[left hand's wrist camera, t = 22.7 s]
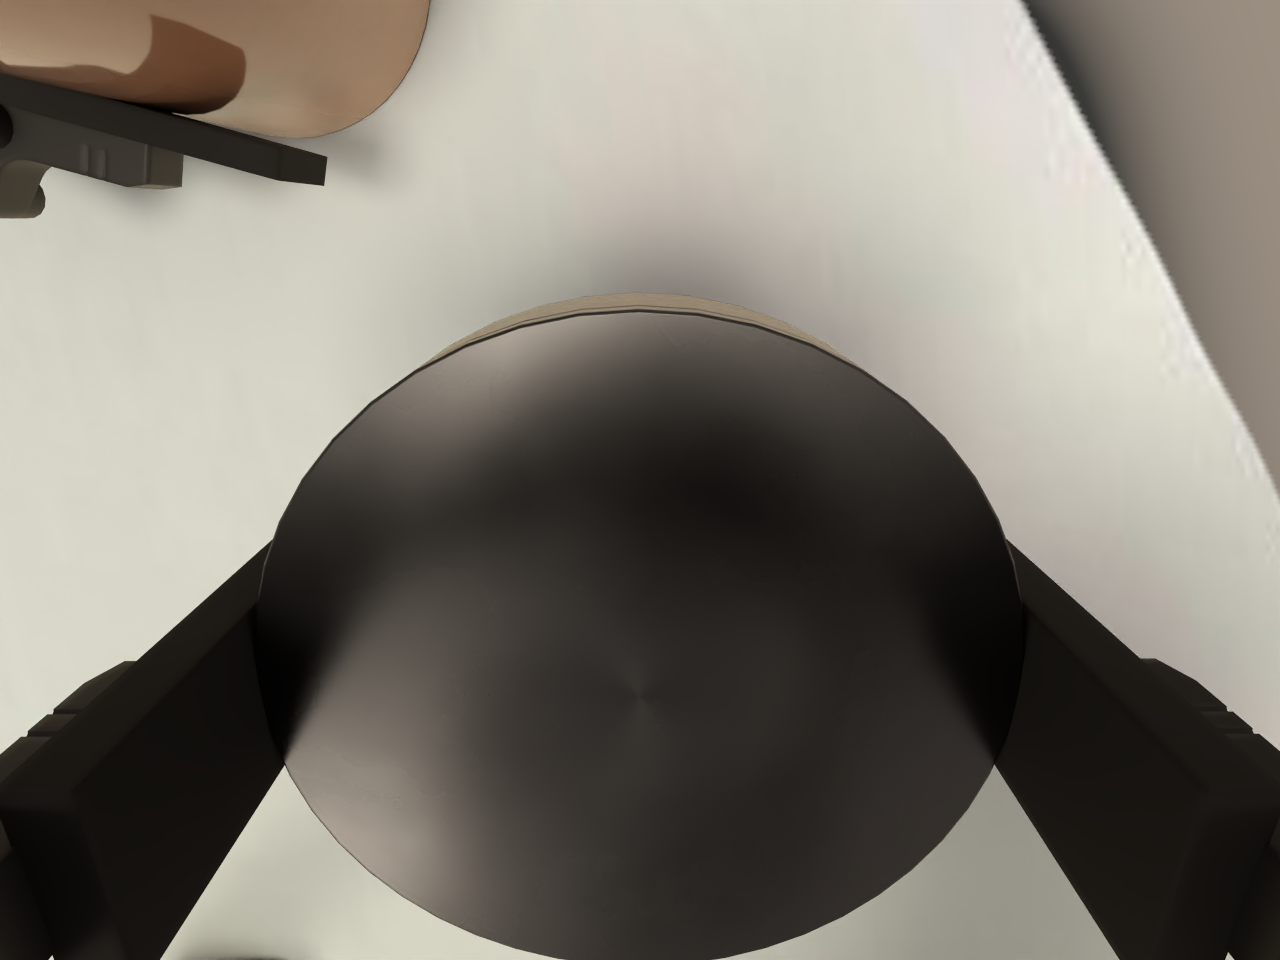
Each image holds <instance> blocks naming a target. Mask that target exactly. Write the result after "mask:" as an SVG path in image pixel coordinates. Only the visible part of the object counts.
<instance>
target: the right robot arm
mask: <svg viewBox="0 0 1280 960" xmlns="http://www.w3.org/2000/svg"><path fill="white" fill-rule="evenodd" d="M183 155H188V156H191V157H195V158H198V159H202V160H206V161H209V162H213V163H217V164H220V165H224V166H227V167H231V168H235V169H238V170H242V171H245V172H249V173H253V174H256V175H260V176H264V177H267V178H271V179H274V180H278V181H287V182H295V183H304V184H313V185H322V186H324V182H325V173H326V165H327V157H326V156H322V155H319V154H315V153H312V152H308V151H305V150H301V149H297V148H294V147H290V146H287V145H283V144H280V143H276V142H273V141H269V140H265V139H262V138H258V137H255V136H251V135H248V134H244V133H240V132H237V131H233V130H230V129H226V128H223V127H219V126H216V125H212V124H208V123H205V122H201V121H198V120H194V119H191V118H187V117H184V116H180V115H176V114H173V113H169V112H164V111H160V110H156V109H152V108H147V107H143V106H139V105H134V104H130V103H126V102H121V101H117V100H113V99H109V98H104V97H100V96H95V95H91V94H87V93H82V92H78V91H74V90H70V89H65V88H61V87H57V86H52V85H48V84H44V83H39V82H35V81H31V80H26V79H22V78H18V77H14V76H9V75H5V74H1V73H0V218H35V217H36V216H38V215H40V214H41V213H42V211H43V209H44V208H45V195H44V192H43V189H42V188H41V186H40V185H39V184H40V182H41V179H42V177H43V175H44V174H45V172H46V171H47V170H48V169H49V168H50V167H56V168H59V169H63V170H67V171H70V172H74V173H78V174H81V175H86V176H89V177H92V178H96V179H100V180H105V181H107V182H111V183H115V184H118V185H122V186H126V187H135V188H150V189H168V188H176V187H182V172H183Z"/></svg>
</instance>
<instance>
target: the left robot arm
mask: <svg viewBox="0 0 1280 960" xmlns="http://www.w3.org/2000/svg"><path fill="white" fill-rule="evenodd" d="M272 541H273V540H271V541H270V542H269V543H268V544H267V545H266V546H265V547H264V548H262V549H261V550H260V551H259V552H258V553H257V554H256V555H255V556H254V557H252V558H251V559H250V560H249V561H248V562H247V563H246V564H245V565H243V566H242V567H241V568H240V569H239V570H238V571H237V572H236V573H234V574H233V575H232V576H231V577H230V578H229V579H228V580H227V581H226V582H224V583H223V584H222V585H221V586H220V587H219V588H218V589H217V590H215V591H214V592H213V593H212V594H211V595H210V596H209V597H208V598H207V599H205V600H204V601H203V602H202V603H201V604H200V605H199V606H198V607H196V608H195V609H194V610H193V611H192V612H191V613H190V614H189V615H188V616H186V617H185V618H184V619H183V620H182V621H181V622H180V623H179V624H177V625H176V626H175V627H174V628H173V629H172V630H171V631H170V632H169V633H167V634H166V635H165V636H164V637H163V638H162V639H161V640H160V641H158V642H157V643H156V644H155V645H154V646H153V647H152V648H151V649H149V650H148V651H147V652H146V653H145V654H144V655H143V656H142V657H141V658H139V659H138V660H137V661H124V662H122V663H121V664H119V665H117V666H115V667H113V668H111V669H110V670H108V671H106V672H104V673H102V674H100V675H98V676H97V677H95V678H93V679H91V680H89V681H87V682H86V683H84V684H83V685H82V686H80V687H79V688H78V689H77V690H76V691H74V692H73V693H72V694H71V695H70V696H69V697H67V698H66V699H65V700H64V701H63V702H62V703H60V704H59V705H58V706H57V707H56V708H54V712H53V714H47V715H46V716H45V717H44V718H43V719H42V720H40V721H39V722H38V723H37V724H36V725H34V726H33V727H32V728H31V729H30V730H29V731H28V735H27V736H26V737H20V738H19V739H18V740H17V741H16V742H14V743H13V744H12V745H11V746H10V747H9V748H7V749H6V750H5V751H4V752H3V753H2V754H0V960H49V958H50V957H51V956H52V955H53V958H54V960H160V959H161V957H162V956H163V954H164V952H165V951H166V949H167V948H168V946H169V945H170V943H171V942H172V940H173V938H174V937H175V935H176V934H177V932H178V931H179V929H180V927H181V926H182V924H183V923H184V921H185V920H186V918H187V917H188V915H189V913H190V912H191V910H192V909H193V907H194V906H195V904H196V903H197V901H198V899H199V898H200V896H201V895H202V893H203V892H204V890H205V888H206V887H207V885H208V884H209V882H210V881H211V879H212V878H213V876H214V874H215V873H216V871H217V870H218V868H219V867H220V865H221V864H222V862H223V860H224V859H225V857H226V856H227V854H228V853H229V851H230V849H231V848H232V846H233V845H234V843H235V842H236V840H237V839H238V837H239V835H240V834H241V832H242V831H243V829H244V828H245V826H246V825H247V823H248V821H249V820H250V818H251V817H252V815H253V814H254V812H255V810H256V809H257V807H258V806H259V804H260V803H261V801H262V800H263V798H264V796H265V795H266V793H267V792H268V790H269V789H270V787H271V786H272V784H273V782H274V781H275V779H276V778H277V776H278V775H279V773H280V771H281V770H282V768H283V767H284V765H285V764H284V762H283V760H282V757H281V755H280V753H279V751H278V749H277V746H276V744H275V742H274V740H273V738H272V734H271V731H270V727H269V724H268V720H267V717H266V714H265V710H264V705H263V701H262V696H261V691H260V686H259V681H258V674H257V666H256V659H255V624H256V606H257V601H258V595H259V590H260V584H261V578H262V573H263V567H264V563H265V561H266V558H267V555H268V552H269V549H270V546H271V543H272ZM1006 541H1007V544H1008V546H1009V549H1010V552H1011V555H1012V558H1013V560H1014V563H1015V568H1016V574H1017V579H1018V584H1019V590H1020V595H1021V601H1022V606H1023V630H1024V657H1023V665H1022V673H1021V680H1020V686H1019V691H1018V697H1017V701H1016V705H1015V709H1014V713H1013V716H1012V720H1011V723H1010V727H1009V730H1008V734H1007V737H1006V739H1005V741H1004V743H1003V746H1002V748H1001V750H1000V752H999V755H998V757H997V759H996V761H995V766H996V768H997V769H998V771H999V772H1000V774H1001V775H1002V777H1003V778H1004V780H1005V782H1006V783H1007V785H1008V786H1009V788H1010V789H1011V791H1012V793H1013V794H1014V796H1015V797H1016V799H1017V800H1018V802H1019V803H1020V805H1021V807H1022V808H1023V810H1024V811H1025V813H1026V814H1027V816H1028V817H1029V819H1030V821H1031V822H1032V824H1033V825H1034V827H1035V828H1036V830H1037V832H1038V833H1039V835H1040V836H1041V838H1042V839H1043V841H1044V842H1045V844H1046V846H1047V847H1048V849H1049V850H1050V852H1051V853H1052V855H1053V856H1054V858H1055V860H1056V861H1057V863H1058V864H1059V866H1060V867H1061V869H1062V871H1063V872H1064V874H1065V875H1066V877H1067V878H1068V880H1069V881H1070V883H1071V885H1072V886H1073V888H1074V889H1075V891H1076V892H1077V894H1078V896H1079V897H1080V899H1081V900H1082V902H1083V903H1084V905H1085V906H1086V908H1087V910H1088V911H1089V913H1090V914H1091V916H1092V917H1093V919H1094V920H1095V922H1096V924H1097V925H1098V927H1099V928H1100V930H1101V931H1102V933H1103V935H1104V936H1105V938H1106V939H1107V941H1108V942H1109V944H1110V945H1111V947H1112V949H1113V950H1114V952H1115V953H1116V955H1117V956H1118V958H1119V959H1120V960H1225V959H1226V956H1227V953H1228V952H1229V954H1230V955H1231V956H1232V957H1233V959H1234V960H1280V751H1279V750H1278V749H1276V748H1275V747H1274V746H1273V745H1272V744H1271V743H1269V742H1268V741H1267V740H1266V739H1265V738H1263V737H1262V736H1261V735H1260V734H1254V733H1253V731H1252V727H1250V726H1249V725H1248V724H1247V723H1246V722H1244V721H1243V720H1242V719H1241V718H1240V717H1239V716H1237V715H1236V714H1235V713H1234V712H1228V711H1227V706H1226V705H1224V704H1223V703H1222V702H1221V701H1220V700H1218V699H1217V698H1216V697H1215V696H1214V695H1212V694H1211V693H1210V692H1209V691H1208V690H1207V689H1205V688H1204V687H1203V686H1202V685H1201V684H1199V683H1198V682H1197V681H1196V680H1194V679H1192V678H1190V677H1188V676H1187V675H1185V674H1183V673H1181V672H1179V671H1177V670H1175V669H1174V668H1172V667H1170V666H1168V665H1166V664H1164V663H1163V662H1161V661H1159V660H1157V659H1140V658H1139V657H1138V656H1137V655H1136V654H1134V653H1133V652H1132V651H1131V650H1130V649H1129V648H1128V647H1127V646H1125V645H1124V644H1123V643H1122V642H1121V641H1120V640H1119V639H1118V638H1117V637H1115V636H1114V635H1113V634H1112V633H1111V632H1110V631H1109V630H1108V629H1106V628H1105V627H1104V626H1103V625H1102V624H1101V623H1100V622H1099V621H1098V620H1096V619H1095V618H1094V617H1093V616H1092V615H1091V614H1090V613H1089V612H1087V611H1086V610H1085V609H1084V608H1083V607H1082V606H1081V605H1080V604H1079V603H1077V602H1076V601H1075V600H1074V599H1073V598H1072V597H1071V596H1070V595H1068V594H1067V593H1066V592H1065V591H1064V590H1063V589H1062V588H1061V587H1060V586H1058V585H1057V584H1056V583H1055V582H1054V581H1053V580H1052V579H1051V578H1049V577H1048V576H1047V575H1046V574H1045V573H1044V572H1043V571H1042V570H1041V569H1039V568H1038V567H1037V566H1036V565H1035V564H1034V563H1033V562H1032V561H1030V560H1029V559H1028V558H1027V557H1026V556H1025V555H1024V554H1023V553H1022V552H1020V551H1019V550H1018V549H1017V548H1016V547H1015V546H1014V545H1013V544H1011V543H1010V542H1009V541H1008V540H1007V539H1006Z"/></svg>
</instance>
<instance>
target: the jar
mask: <svg viewBox="0 0 1280 960" xmlns="http://www.w3.org/2000/svg"><path fill="white" fill-rule="evenodd" d="M428 8H429V0H0V73H1V74H5V75H9V76H14V77H18V78H22V79H26V80H31V81H35V82H39V83H44V84H48V85H52V86H57V87H61V88H65V89H70V90H74V91H78V92H82V93H87V94H91V95H95V96H100V97H104V98H109V99H113V100H117V101H121V102H126V103H130V104H134V105H139V106H143V107H147V108H152V109H156V110H160V111H164V112H169V113H173V114H177V115H181V116H186V117H190V118H194V119H199V120H203V121H207V122H212V123H216V124H220V125H225V126H229V127H233V128H237V129H242V130H246V131H250V132H255V133H259V134H264V135H270V136H276V137H282V138H306V137H314V136H321V135H325V134H328V133H332V132H336V131H339V130H341V129H344V128H346V127H348V126H350V125H352V124H355V123H357V122H358V121H360V120H361V119H363V118H364V117H366V116H367V115H369V114H371V113H372V112H373V111H374V110H375V109H377V108H378V107H379V106H380V105H381V104H382V103H383V102H384V101H386V100H387V98H388V97H389V96H390V95H391V94H392V93H393V91H394V90H395V89H396V88H397V87H398V85H399V84H400V83H401V81H402V79H403V78H404V76H405V75H406V73H407V71H408V70H409V68H410V66H411V64H412V62H413V60H414V57H415V55H416V53H417V51H418V49H419V46H420V42H421V39H422V36H423V32H424V29H425V25H426V20H427V14H428Z"/></svg>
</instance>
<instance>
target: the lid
mask: <svg viewBox="0 0 1280 960" xmlns="http://www.w3.org/2000/svg"><path fill="white" fill-rule="evenodd" d="M1023 657H1024V630H1023V606H1022V601H1021V595H1020V590H1019V584H1018V579H1017V574H1016V568H1015V563H1014V560H1013V558H1012V555H1011V552H1010V549H1009V546H1008V544H1007V541H1006V538H1005V535H1004V532H1003V529H1002V527H1001V524H1000V521H999V519H998V517H997V515H996V513H995V511H994V510H993V508H992V506H991V504H990V502H989V500H988V499H987V497H986V495H985V493H984V491H983V489H982V488H981V486H980V484H979V482H978V480H977V478H976V477H975V475H974V474H973V473H972V472H971V470H970V469H969V468H968V466H967V465H966V464H965V463H964V461H963V460H962V459H961V457H960V456H959V455H958V453H957V452H956V451H955V450H954V448H953V447H952V446H951V444H950V443H949V442H948V440H947V439H946V438H945V437H944V436H943V435H942V434H941V433H940V432H939V431H938V430H937V429H936V428H935V427H934V426H933V425H932V424H931V423H930V422H929V421H928V420H927V419H925V418H924V417H923V416H922V415H921V414H920V413H919V412H918V411H917V410H916V409H915V408H914V407H913V406H912V405H911V404H910V403H909V402H908V401H907V400H905V399H904V398H902V397H901V396H899V395H898V394H897V393H895V392H894V391H892V390H891V389H890V388H888V387H887V386H885V385H884V384H883V383H881V382H880V381H878V380H877V379H875V378H874V377H873V376H871V375H870V374H868V373H867V372H866V371H864V370H863V369H861V368H860V367H858V366H857V365H856V364H854V363H853V362H851V361H850V360H849V359H847V358H846V357H844V356H843V355H842V354H840V353H839V352H837V351H836V350H834V349H833V348H832V347H830V346H829V345H827V344H826V343H824V342H822V341H820V340H818V339H816V338H814V337H812V336H810V335H808V334H806V333H804V332H803V331H801V330H799V329H797V328H795V327H793V326H791V325H789V324H787V323H785V322H783V321H780V320H777V319H774V318H771V317H768V316H766V315H763V314H760V313H757V312H754V311H751V310H748V309H746V308H743V307H740V306H737V305H732V304H727V303H722V302H717V301H712V300H707V299H702V298H697V297H692V296H684V295H669V294H653V293H625V294H611V295H596V296H586V297H582V298H577V299H572V300H567V301H562V302H557V303H553V304H548V305H543V306H539V307H536V308H533V309H530V310H528V311H525V312H522V313H519V314H516V315H514V316H511V317H508V318H505V319H502V320H499V321H497V322H494V323H492V324H490V325H488V326H486V327H484V328H482V329H480V330H478V331H476V332H475V333H473V334H471V335H469V336H467V337H465V338H463V339H461V340H459V341H457V342H455V343H453V344H451V345H450V346H449V347H447V348H446V349H444V350H443V351H442V352H440V353H439V354H437V355H436V356H435V357H433V358H432V359H430V360H429V361H427V362H426V363H425V364H423V365H422V366H420V367H419V368H418V369H416V370H415V371H413V372H412V373H411V374H409V375H408V376H406V377H405V378H404V379H402V380H401V381H399V382H398V383H397V384H395V385H394V386H392V387H391V388H390V389H388V390H387V391H385V392H384V393H383V394H381V395H380V396H378V397H377V398H376V399H374V400H373V401H371V402H370V403H369V404H368V405H367V406H366V407H365V408H364V409H363V410H362V411H361V412H360V413H359V414H358V415H357V416H356V417H355V418H354V419H353V420H352V421H350V422H349V423H348V424H347V425H346V426H345V427H344V428H343V429H342V430H341V431H340V432H339V433H338V434H337V435H336V436H335V437H334V438H333V439H332V440H331V442H330V443H329V444H328V446H327V447H326V448H325V449H324V451H323V452H322V453H321V455H320V456H319V457H318V459H317V460H316V461H315V463H314V464H313V465H312V467H311V468H310V469H309V471H308V472H307V473H306V474H305V476H304V477H303V478H302V480H301V482H300V484H299V486H298V487H297V489H296V491H295V493H294V495H293V497H292V499H291V500H290V502H289V504H288V506H287V508H286V510H285V512H284V513H283V515H282V517H281V519H280V521H279V523H278V526H277V529H276V532H275V535H274V538H273V541H272V543H271V546H270V549H269V552H268V555H267V558H266V561H265V563H264V567H263V573H262V578H261V584H260V590H259V595H258V601H257V606H256V624H255V659H256V666H257V674H258V681H259V686H260V691H261V696H262V701H263V705H264V710H265V714H266V717H267V720H268V724H269V727H270V731H271V734H272V738H273V740H274V742H275V744H276V746H277V749H278V751H279V753H280V755H281V757H282V760H283V762H284V764H285V766H286V768H287V771H288V773H289V775H290V777H291V778H292V780H293V781H294V783H295V785H296V786H297V788H298V789H299V791H300V793H301V794H302V796H303V797H304V799H305V800H306V802H307V804H308V805H309V807H310V808H311V810H312V811H313V813H314V814H315V815H316V816H317V817H318V819H319V820H320V821H321V822H322V823H323V825H324V826H325V827H326V828H327V830H328V831H329V832H330V833H331V834H332V836H333V837H334V838H335V839H336V840H337V842H338V843H339V844H340V845H341V846H342V847H343V848H345V849H346V850H347V851H348V852H349V853H350V854H351V855H352V856H353V857H354V858H355V859H356V860H357V861H358V862H359V863H360V864H361V865H362V866H364V867H365V868H366V869H367V870H368V871H369V872H370V873H371V874H373V875H374V876H375V877H377V878H378V879H379V880H381V881H382V882H383V883H385V884H386V885H387V886H389V887H390V888H391V889H393V890H394V891H395V892H397V893H398V894H399V895H401V896H402V897H404V898H406V899H407V900H409V901H411V902H412V903H414V904H416V905H417V906H419V907H421V908H422V909H424V910H426V911H428V912H429V913H431V914H433V915H434V916H436V917H438V918H440V919H442V920H444V921H446V922H448V923H451V924H453V925H455V926H457V927H459V928H462V929H464V930H466V931H468V932H470V933H472V934H475V935H477V936H480V937H483V938H486V939H489V940H492V941H495V942H497V943H500V944H503V945H506V946H509V947H512V948H515V949H519V950H523V951H527V952H532V953H536V954H540V955H544V956H548V957H553V958H557V959H564V960H714V959H721V958H726V957H731V956H735V955H739V954H743V953H747V952H751V951H755V950H759V949H763V948H767V947H770V946H773V945H775V944H778V943H781V942H784V941H787V940H790V939H793V938H796V937H798V936H801V935H804V934H806V933H809V932H811V931H813V930H815V929H817V928H819V927H821V926H824V925H826V924H828V923H830V922H832V921H834V920H837V919H839V918H841V917H843V916H845V915H846V914H848V913H850V912H851V911H853V910H855V909H856V908H858V907H860V906H861V905H863V904H865V903H866V902H868V901H870V900H871V899H873V898H875V897H876V896H878V895H879V894H881V893H882V892H883V891H885V890H886V889H887V888H889V887H890V886H891V885H893V884H894V883H895V882H896V881H898V880H899V879H900V878H902V877H903V876H904V875H906V874H907V873H908V872H910V871H911V870H912V869H913V868H914V867H915V866H916V865H917V864H918V863H919V862H921V861H922V860H923V859H924V858H925V857H926V856H927V855H928V854H929V853H930V852H931V851H932V850H933V849H934V848H935V847H936V846H937V845H938V844H939V843H940V842H941V841H942V840H943V839H944V838H945V837H946V835H947V834H948V833H949V832H950V830H951V829H952V828H953V827H954V826H955V824H956V823H957V822H958V821H959V819H960V818H961V817H962V816H963V815H964V813H965V812H966V811H967V810H968V808H969V807H970V805H971V803H972V802H973V800H974V799H975V797H976V795H977V794H978V792H979V791H980V789H981V787H982V786H983V784H984V782H985V781H986V779H987V778H988V776H989V774H990V772H991V770H992V768H993V766H994V764H995V761H996V759H997V757H998V755H999V752H1000V750H1001V748H1002V746H1003V743H1004V741H1005V739H1006V737H1007V734H1008V730H1009V727H1010V723H1011V720H1012V716H1013V713H1014V709H1015V705H1016V701H1017V697H1018V691H1019V686H1020V680H1021V673H1022V665H1023Z"/></svg>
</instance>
